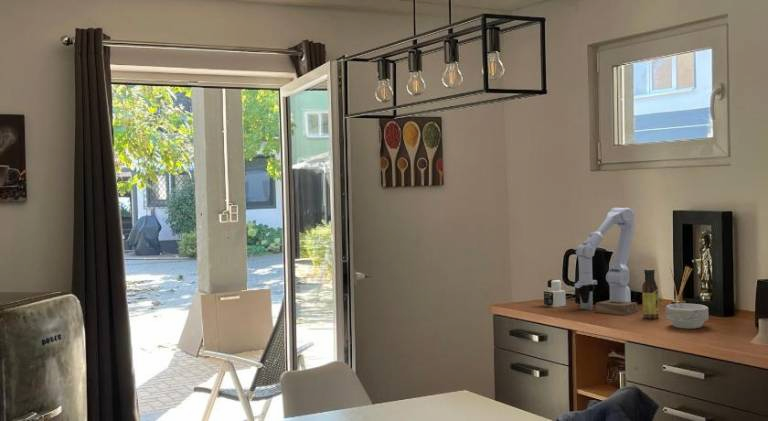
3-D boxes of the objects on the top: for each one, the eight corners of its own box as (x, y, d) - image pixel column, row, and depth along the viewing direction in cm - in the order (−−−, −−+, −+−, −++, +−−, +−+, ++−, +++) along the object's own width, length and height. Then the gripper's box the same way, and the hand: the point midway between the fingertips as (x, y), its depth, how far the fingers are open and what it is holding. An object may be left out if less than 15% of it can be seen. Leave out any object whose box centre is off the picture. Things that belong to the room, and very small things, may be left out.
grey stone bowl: (706, 331, 308) (706, 309, 308) (663, 329, 315) (663, 308, 314) (710, 324, 321) (710, 303, 321) (669, 322, 328) (669, 302, 328)
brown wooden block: (608, 309, 366) (608, 300, 366) (637, 311, 356) (637, 302, 356) (595, 312, 359) (595, 302, 359) (624, 315, 349) (624, 305, 349)
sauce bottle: (659, 319, 336) (658, 270, 336) (643, 319, 338) (642, 270, 337) (658, 316, 343) (656, 268, 342) (642, 316, 344) (640, 268, 343)
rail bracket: (583, 308, 371) (582, 290, 371) (592, 309, 367) (592, 291, 367) (580, 308, 370) (580, 290, 370) (590, 309, 366) (589, 291, 366)
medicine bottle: (543, 305, 383) (543, 279, 383) (556, 304, 386) (555, 278, 386) (553, 307, 376) (552, 281, 376) (566, 306, 379) (565, 279, 379)
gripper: (587, 269, 376) (588, 299, 376) (568, 273, 366) (569, 303, 367) (600, 270, 371) (601, 300, 371) (582, 273, 361) (583, 305, 361)
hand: (586, 302), depth 369 cm, fingers closed on rail bracket, 2 cm apart
